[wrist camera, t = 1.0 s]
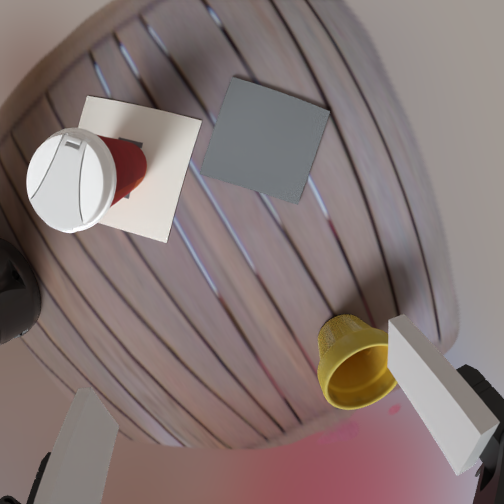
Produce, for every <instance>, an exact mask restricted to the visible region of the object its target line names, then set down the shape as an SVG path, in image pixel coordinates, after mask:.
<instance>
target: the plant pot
mask: <svg viewBox="0 0 504 504" xmlns="http://www.w3.org/2000/svg"><path fill="white" fill-rule="evenodd" d="M318 346H319V354H320V362H319V366H318V379H319V383H320V386H321V389H322V391H323V394H324V396H325V398H326V400H327V401H328V402H329V403H330V404H331V405H333V406H335V407H337V408H340V409H347V410H351V409H358V408H362V407H365V406H368V405H371V404H373V403H375V402H377V401H378V400H380V399H382V398H383V397H384V396H386V395H387V394H388V393H389V392H390V391H391V390H392V389H393V388H394V387H395V386H396V385H397V383H398V382H397V381H396V379H395V378H394V376H393V375H392V373H391V372H390V370H389V369H388V367H387V365H388V334H387V333H386V332H384V331H383V330H380V329H376V328H372V327H370V326H369V325H368V324H366V323H365V322H363V321H362V320H360V319H359V318H358V317H356V316H354V315H349V314H344V315H339V316H336V317H334V318H332V319H330V320H329V321H328V322H327V323H325V325H324V326H323V327H322V328H321V330H320V332H319V335H318Z"/></svg>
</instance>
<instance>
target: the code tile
mask: <svg viewBox="0 0 504 504" xmlns="http://www.w3.org/2000/svg"><path fill="white" fill-rule="evenodd" d="M201 123H202V121H201V120H197V119H193V118H189V117H186V116H182V115H178V114H174V113H170V112H166V111H161V110H157V109H153V108H148V107H144V106H139V105H134V104H129V103H124V102H119V101H114V100H109V99H103V98H97V97H91V96H87V98H86V101H85V105H84V108H83V112H82V115H81V119H80V122H79V126H78V128H82V129H86V130H88V131H91V132H93V133H94V134H96V135H100V136H104V137H109V138H114V139H119V140H123V141H127V142H131V143H133V144H135V145H137V146H138V147H139V148H140V149H141V150H142V151H143V153H144V155H145V157H146V161H147V171H146V174H145V177H144V179H143V181H142V182H141V183H140V184H139V185H138V186H137V187H136V188H135V189H134V190H132V191H131V192H130V193H129V194H127V195H126V196H125V197H123V198H122V199H121V200H119V201H118V202H117V203H115V204H114V205H113V206H111V207H110V208H109V209H108V211H107V213H106V214H105V215H104V216H103V218H102V219H101V220H100V221H99V222H98V223H101V224H104V225H108V226H111V227H114V228H118V229H121V230H124V231H128V232H131V233H134V234H138V235H141V236H145V237H148V238H151V239H155V240H158V241H162V242H165V243H167V241H168V237H169V233H170V229H171V225H172V221H173V217H174V213H175V210H176V206H177V202H178V199H179V195H180V191H181V188H182V184H183V181H184V178H185V174H186V171H187V167H188V164H189V161H190V157H191V154H192V151H193V148H194V145H195V142H196V138H197V135H198V132H199V129H200V126H201Z"/></svg>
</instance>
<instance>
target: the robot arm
mask: <svg viewBox="0 0 504 504" xmlns="http://www.w3.org/2000/svg"><path fill="white" fill-rule="evenodd" d="M40 307H41V301H40V293H39V288H38V285H37V282H36V279H35V277H34V274H33V272H32V270H31V268H30V266H29V265H28V263H27V262H26V260H25V259H24V257H23V256H22V255H21V254H20V252H19V251H18V250H17V249H16V248H15V247H13V246H12V245H11V244H10V243H8V242H6V241H5V240H2V239H0V345H1V344H4V343H6V342H8V341H10V340H11V339H13V338H17V337H20V336H22V335H24V334H26V333H27V332H28V331H29V330H30V329H31V328H32V326H33V325H34V324H35V323H36V321H37V320H38V317H39V314H40ZM387 367H388V369H389V370H390V372H391V373H392V375H393V376H394V378H395V379H396V381H397V382H398V384H399V385H400V387H401V388H402V389H403V391H404V392H405V394H406V396H407V397H408V399H409V400H410V402H411V403H412V405H413V406H414V408H415V409H416V411H417V412H418V414H419V415H420V417H421V418H422V420H423V421H424V423H425V424H426V426H427V428H428V429H429V431H430V433H431V434H432V436H433V437H434V439H435V441H436V442H437V444H438V445H439V447H440V449H441V450H442V452H443V454H444V455H445V457H446V458H447V460H448V461H449V463H450V465H451V467H452V468H453V470H454V471H455V473H456V475H457V476H458V475H459V474H461V473H463V472H464V471H466V470H468V469H469V468H471V467H472V466H474V465H475V463H476V462H477V460H478V459H479V458H480V459H481V461H482V462H483V463H482V465H481V466H480V468H479V469H478V471H477V472H476V475H475V476H476V477H477V476H478V475H479V474H480V476H479V481H478V485H477V489H476V493H475V497H474V500H473V504H504V399H503V398H502V396H501V395H500V394H499V393H498V392H497V391H496V390H495V389H494V387H492V386H491V384H490V383H489V382H488V381H487V380H485V378H484V376H483V375H482V374H481V373H480V372H479V371H478V370H477V369H474V368H473V367H471V366H468V365H466V364H465V365H464V366H462V367H460V368H458V369H455V368H454V367H453V366H452V365H451V364H450V363H449V362H448V361H447V359H446V358H445V357H444V356H443V355H442V354H441V353H440V352H439V351H438V349H437V348H436V347H435V346H434V345H433V344H432V343H431V342H430V341H429V340H428V339H427V338H426V336H425V335H424V334H423V333H422V332H421V331H420V330H419V329H418V328H417V327H416V326H415V325H414V324H413V323H412V322H411V321H410V320H409V319H408V317H407V316H406V315H405V314H403V315H400V316H397V317H395V318H392V319H389V332H388V365H387ZM118 428H119V425H118V424H117V422H116V421H115V420H114V418H113V417H112V416H111V414H110V413H109V412H108V410H107V409H106V408H105V406H104V405H103V403H102V402H101V401H100V399H99V398H98V396H97V395H96V393H95V392H94V391H93V389H92V388H91V387H88V388H78V391H77V393H76V395H75V397H74V399H73V402H72V404H71V406H70V409H69V411H68V413H67V416H66V418H65V420H64V423H63V425H62V427H61V430H60V432H59V435H58V437H57V439H56V442H55V445H54V447H53V450H52V452H48V453H47V455H46V456H45V457H44V458H43V460H42V461H41V464H40V467H39V469H38V470H39V472H37V475H36V479H35V480H34V483H33V486H32V489H31V492H30V495H29V497H28V500H27V504H101V500H102V495H103V490H104V486H105V481H106V476H107V472H108V468H109V464H110V460H111V455H112V451H113V447H114V443H115V440H116V436H117V432H118ZM0 504H21V503H20V502H18V501H17V500H16V499H14V498H13V497H12V496H4V497H2V498H1V499H0Z"/></svg>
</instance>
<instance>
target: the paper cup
mask: <svg viewBox="0 0 504 504" xmlns="http://www.w3.org/2000/svg"><path fill="white" fill-rule="evenodd" d="M146 171H147V161H146V157H145V155H144V153H143V151H142V150H141V149H140V148H139V147H138V146H137V145H135V144H133V143H131V142H127V141H123V140H119V139H114V138H109V137H104V136H100V135H96V134H94V133H93V132H91V131H88V130H86V129H82V128H67V129H63V130H60V131H58V132H56V133H55V134H53V135H51V136H50V137H49V138H48V139H47V140H46V141H45V142H44V143H43V144H41V146H40V147H39V148H38V149H37V150H36V152H35V154H34V155H33V157H32V159H31V161H30V164H29V168H28V172H27V192H28V197H29V200H30V202H31V204H32V206H33V208H34V209H35V211H36V213H37V214H38V215H39V216H40V218H41V219H42V220H44V222H45V223H46V224H47V225H49V226H50V227H52V228H54V229H57V230H59V231H62V232H66V233H73V232H77V231H82V230H85V229H88V228H90V227H92V226H93V225H95V224H96V223H98V222H99V221H100V220H101V219H102V218H103V216H104V215H105V214H106V213H107V211H108V209H109V208H110V207H111V206H113V205H114V204H115V203H117V202H118V201H119V200H121V199H122V198H123V197H125V196H126V195H127V194H129V193H130V192H131V191H132V190H134V189H135V188H136V187H137V186H138V185H139V184H140V183H141V182H142V181H143V179H144V177H145V174H146Z"/></svg>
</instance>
